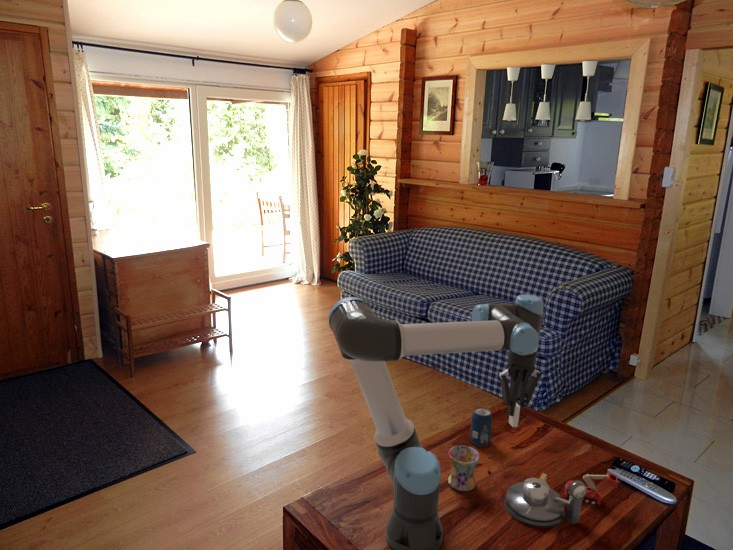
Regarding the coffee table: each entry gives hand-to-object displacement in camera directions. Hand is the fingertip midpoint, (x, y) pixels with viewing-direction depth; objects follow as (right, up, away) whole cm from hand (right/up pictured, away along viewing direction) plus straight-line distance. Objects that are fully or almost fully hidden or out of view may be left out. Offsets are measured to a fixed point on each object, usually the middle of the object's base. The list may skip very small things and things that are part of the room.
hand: (513, 424), depth 162 cm
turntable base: (+6, -23, -2) cm, 24 cm away
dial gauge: (+14, -25, -6) cm, 29 cm away
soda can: (-3, -15, +31) cm, 35 cm away
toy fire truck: (+23, -23, +2) cm, 33 cm away
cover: (+6, -21, -2) cm, 22 cm away
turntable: (+6, -22, -2) cm, 23 cm away
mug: (-14, -20, +9) cm, 26 cm away
